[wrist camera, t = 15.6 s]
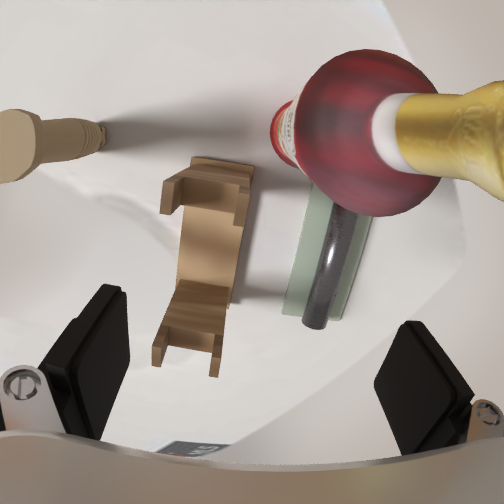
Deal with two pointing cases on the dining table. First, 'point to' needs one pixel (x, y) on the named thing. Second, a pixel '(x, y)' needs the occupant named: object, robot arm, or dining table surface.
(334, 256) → the rail
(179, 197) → the hook stand
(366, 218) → the mat
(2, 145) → the handle
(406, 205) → the liquor
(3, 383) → the robot arm
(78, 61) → the dining table surface
